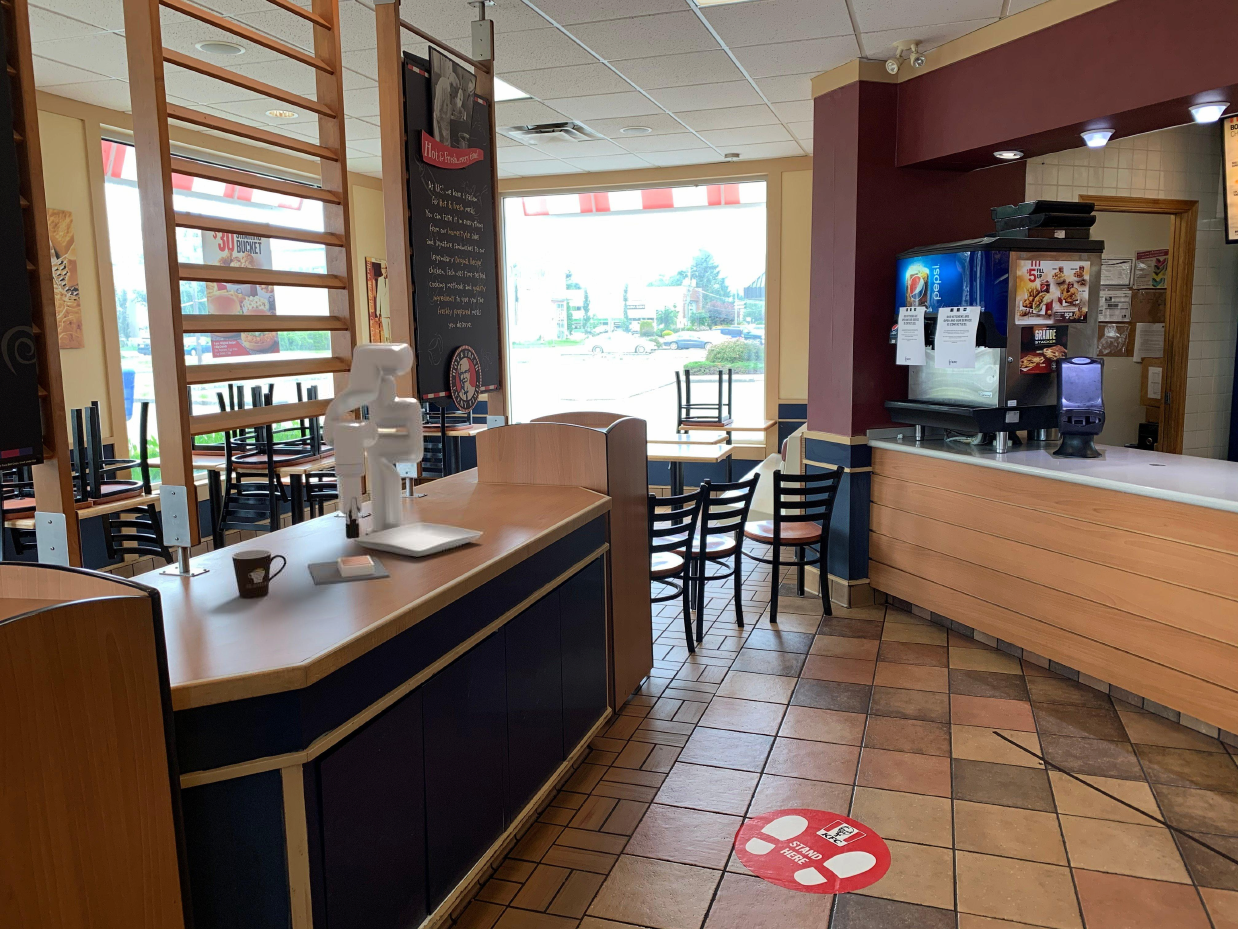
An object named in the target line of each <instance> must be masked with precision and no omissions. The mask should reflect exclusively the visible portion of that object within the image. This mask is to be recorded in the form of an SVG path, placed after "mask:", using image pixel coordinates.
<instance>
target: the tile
mask: <svg viewBox="0 0 1238 929" xmlns="http://www.w3.org/2000/svg"><path fill="white" fill-rule="evenodd" d="M371 558H372V557H371V556H370V555H360V556H359V555H358V556H350V557H349V556H348V557H347V556H346V557H338V558H337V561H338V568H339V571H340V573H341V575H342V577H347V576H356V575H366V574H375V572H374V563H373V562H372V560H371Z"/></svg>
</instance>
